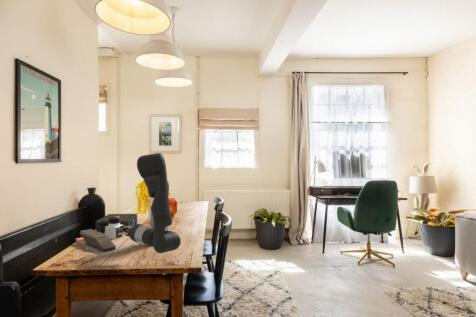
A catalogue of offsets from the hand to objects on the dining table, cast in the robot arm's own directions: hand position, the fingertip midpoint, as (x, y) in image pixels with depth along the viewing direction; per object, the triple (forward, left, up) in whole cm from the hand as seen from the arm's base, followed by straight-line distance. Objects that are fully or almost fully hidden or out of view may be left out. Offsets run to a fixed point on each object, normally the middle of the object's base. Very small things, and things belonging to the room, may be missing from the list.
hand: (121, 227), depth 138 cm
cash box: (+14, -60, -14) cm, 63 cm away
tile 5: (+20, -23, -12) cm, 33 cm away
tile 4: (+17, -19, -12) cm, 28 cm away
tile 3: (+13, -16, -12) cm, 24 cm away
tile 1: (+7, -8, -12) cm, 16 cm away
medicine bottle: (+11, -35, -14) cm, 39 cm away
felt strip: (+13, -15, -14) cm, 24 cm away
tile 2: (+10, -12, -12) cm, 20 cm away
